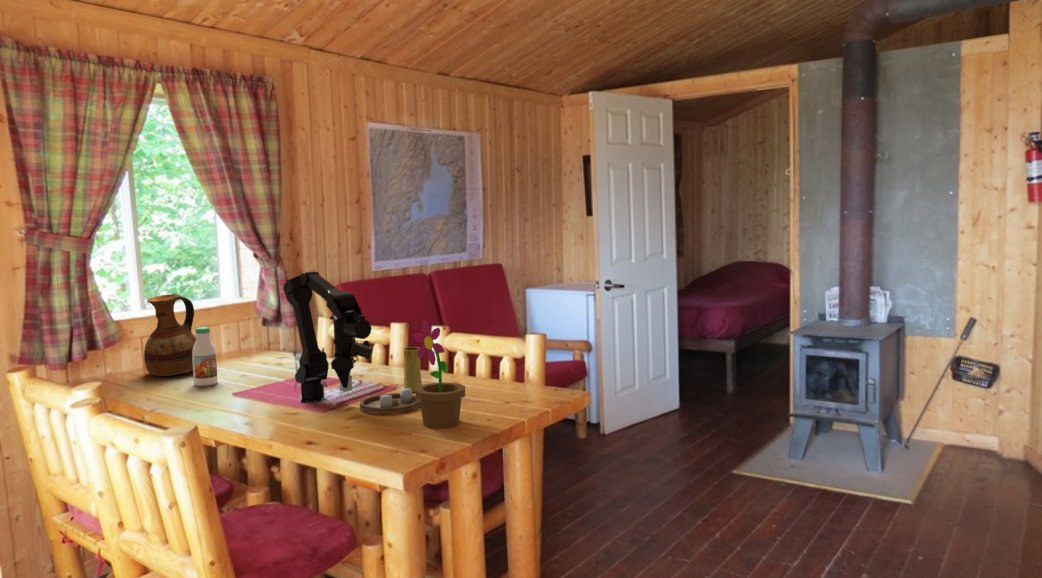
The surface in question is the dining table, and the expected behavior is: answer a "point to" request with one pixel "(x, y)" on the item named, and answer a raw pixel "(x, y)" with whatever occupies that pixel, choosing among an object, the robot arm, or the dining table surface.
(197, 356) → the milk bottle
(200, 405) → the dining table surface
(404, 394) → the bead seated
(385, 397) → the bead
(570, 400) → the dining table surface
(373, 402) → the tray
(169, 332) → the ceramic pitcher
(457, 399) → the flowerpot
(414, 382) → the vase
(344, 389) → the bead
